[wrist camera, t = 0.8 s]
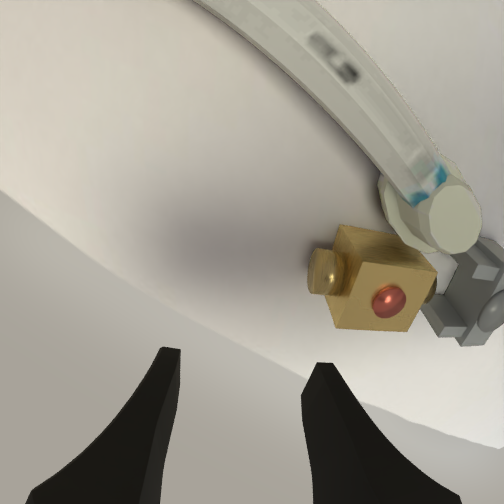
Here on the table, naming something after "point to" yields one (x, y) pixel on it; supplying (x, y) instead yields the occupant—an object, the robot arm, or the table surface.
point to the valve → (371, 280)
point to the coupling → (471, 296)
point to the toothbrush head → (364, 117)
